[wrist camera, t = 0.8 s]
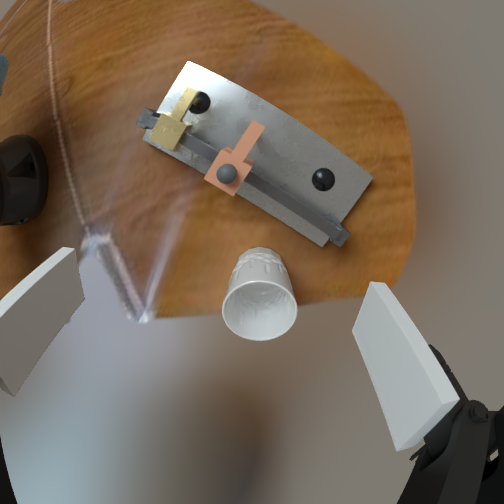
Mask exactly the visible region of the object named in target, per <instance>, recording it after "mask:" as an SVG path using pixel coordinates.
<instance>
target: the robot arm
mask: <svg viewBox="0 0 504 504" xmlns="http://www.w3.org/2000/svg"><path fill="white" fill-rule="evenodd" d="M8 66H9V64H8V60H7V58H6V57H5V56H4V55H2V54H0V95H1V94H2V87H3V84H4V80H5V77H6V74H7V71H8ZM47 188H48V174H47V166H46V161H45V158H44V155H43V152H42V150H41V148H40V146H39V145H38V143H37V142H36V141H35V140H34V139H33V138H32V137H30V136H28V135H25V134H21V135H15V136H11V137H8V138H6V139H5V140H4V141H2V142H1V143H0V226H6V225H20V224H24V223H26V222H28V221H30V220H32V219H34V218H35V217H36V216H37V215H38V214H39V213H40V211H41V209H42V208H43V205H44V203H45V199H46V195H47ZM84 299H85V298H84V294H83V289H82V284H81V279H80V274H79V269H78V263H77V257H76V251H75V249H74V248H67V247H62V248H61V249H60V250H58V251H57V252H56V253H55V254H53V255H52V256H51V257H50V258H48V259H47V260H46V261H45V262H43V263H42V264H41V265H40V266H39V267H37V268H36V269H35V270H34V271H33V272H31V273H30V274H29V275H28V276H27V277H26V278H24V279H23V280H22V281H21V282H20V283H19V284H18V285H17V286H15V287H14V288H13V289H12V290H11V291H10V292H9V293H8V294H7V295H6V296H5V297H4V298H2V299H0V387H1V389H2V390H3V391H5V392H7V393H8V394H10V395H12V396H13V397H15V396H16V394H17V392H18V391H19V389H20V388H21V386H22V384H23V383H24V381H25V380H26V378H27V377H28V375H29V374H30V372H31V371H32V369H33V368H34V366H35V365H36V363H37V362H38V360H39V359H40V357H41V356H42V354H43V353H44V352H45V350H46V349H47V348H48V346H49V345H50V343H51V342H52V341H53V339H54V338H55V337H56V335H57V334H58V333H59V331H60V330H61V329H62V327H63V326H64V325H65V323H66V322H67V321H68V320H69V318H70V317H71V316H72V314H73V313H74V312H75V311H76V309H77V308H78V307H79V306H80V305H81V303H82V302H83V301H84ZM352 333H353V335H354V337H355V340H356V342H357V345H358V347H359V349H360V352H361V355H362V357H363V360H364V362H365V365H366V367H367V369H368V372H369V375H370V377H371V380H372V383H373V385H374V388H375V391H376V393H377V396H378V399H379V402H380V404H381V407H382V410H383V413H384V415H385V418H386V421H387V424H388V427H389V430H390V433H391V436H392V439H393V442H394V445H395V448H396V451H399V450H403V449H407V448H411V447H414V446H415V445H416V444H417V443H418V442H419V441H420V440H422V438H424V441H425V443H426V444H425V445H424V446H423V447H422V448H420V449H419V450H418V451H417V452H416V453H415V454H414V455H412V456H411V458H410V460H411V461H412V460H413V459H414V458H416V457H417V456H418V455H419V456H418V458H417V460H416V461H415V462H416V463H415V466H414V468H413V471H412V473H411V475H410V477H409V480H408V482H407V484H406V486H405V488H404V490H403V493H402V494H401V496H400V498H399V500H398V502H397V504H504V406H503V407H502V408H501V409H500V410H499V411H488V409H487V408H486V407H485V405H484V404H482V403H481V402H479V401H476V400H471V401H469V400H468V398H467V397H466V395H465V393H464V391H463V390H462V388H461V386H460V385H459V383H458V381H457V379H456V378H455V376H454V374H453V373H452V372H451V369H450V368H449V366H448V365H447V364H446V362H445V360H444V358H443V357H442V355H441V354H440V352H438V351H437V350H436V349H435V348H434V347H433V346H432V345H427V343H426V342H425V340H424V338H423V337H422V335H421V334H420V332H419V331H418V329H417V328H416V326H415V325H414V323H413V322H412V320H411V319H410V317H409V316H408V315H407V313H406V312H405V310H404V309H403V307H402V306H401V305H400V303H399V302H398V300H397V299H396V298H395V296H394V295H393V294H392V292H391V291H390V289H389V288H388V287H387V285H386V284H385V283H379V282H370V284H369V287H368V290H367V293H366V295H365V298H364V301H363V304H362V306H361V309H360V312H359V314H358V317H357V319H356V322H355V324H354V327H353V329H352ZM497 449H498V456H497V457H496V458H495V459H494V460H492V461H491V460H490V455H491V454H493V453H494V452H495V451H496V450H497ZM0 504H17V501H16V498H15V496H14V492H13V489H12V486H11V482H10V479H9V475H8V471H7V467H6V463H5V459H4V454H3V449H2V444H1V438H0Z"/></svg>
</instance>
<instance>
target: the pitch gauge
mask: <svg viewBox="0 0 504 504" xmlns="http://www.w3.org/2000/svg"><path fill="white" fill-rule="evenodd" d="M253 120H255V121H256V122H258V123H260V124H261V125H263V126H265V129H264V130H263V132H262V133H261V135H260V136H259V138H258V139H257V141H256V142H255V144H254V145H253V147H252V148H251V150H250V152H249V153H248V155H247V157H248V158H250V159H252V160H253V161H254V163H253V166H252V168H251V170H250V171H249V173H248V174H247V176H246V177H245V179H244V181H243V182H242V184H241V185H240V187H239V188H238V190H237V192H236V193H237V194H238V195H240V196H242V197H243V198H245V199H247V200H248V201H250V202H251V203H253V204H255V205H256V206H258V207H260V208H261V209H263V210H264V211H266V212H268V213H269V214H271V215H272V216H274V217H276V218H277V219H279V220H280V221H282V222H284V223H285V224H287V225H288V226H290V227H291V228H293V229H295V230H296V231H298V232H299V233H301V234H302V235H304V236H305V237H307V238H308V239H310V240H312V241H313V242H315V243H316V244H318V245H319V246H321V247H323V246H324V244H325V243H326V242H327V241H328V239H329V238H330V240H331V241H332V243H334V244H335V245H337V246H338V247H339V248H340V247H341V246H342V245H343V243H344V242H345V241H346V240H347V238H348V237H349V236H350V234H351V233H350V232H349V231H348V230H347V229H346V228H345V226H344V225H343V224H342V223H341V222H342V220H343V219H344V218H345V216H346V215H347V214H348V212H349V211H350V210H351V208H352V207H353V205H354V204H355V203H356V201H357V200H358V198H359V197H360V196H361V194H362V193H363V191H364V190H365V189H366V187H367V186H368V184H369V183H370V182H371V180H372V179H373V177H372V176H371V175H370V174H368V173H367V172H366V171H365V170H364V169H362V168H361V167H360V166H359V165H357V164H356V163H355V162H354V161H352V160H351V159H350V158H349V157H347V156H346V155H345V154H343V153H342V152H341V151H339V150H338V149H337V148H335V147H334V146H333V145H331V144H330V143H329V142H327V141H326V140H325V139H323V138H322V137H320V136H319V135H318V134H316V133H315V132H313V131H312V130H310V129H309V128H307V127H306V126H304V125H303V124H301V123H300V122H298V121H297V120H295V119H294V118H292V117H291V116H289V115H288V114H286V113H285V112H283V111H281V110H280V109H278V108H277V107H275V106H273V105H272V104H270V103H268V102H267V101H265V100H263V99H262V98H260V97H258V96H256V95H255V94H253V93H251V92H249V91H248V90H246V89H244V88H242V87H240V86H238V85H237V84H235V83H233V82H231V81H229V80H227V79H225V78H223V77H221V76H219V75H217V74H215V73H213V72H211V71H209V70H207V69H205V68H203V67H201V66H198V65H196V64H194V63H192V62H190V61H188V62H187V64H186V65H185V67H184V68H183V70H182V71H181V73H180V74H179V76H178V78H177V79H176V81H175V82H174V84H173V85H172V87H171V89H170V90H169V92H168V94H167V95H166V97H165V99H164V100H163V102H162V104H161V106H160V107H159V109H158V110H153V109H148V108H144V109H143V111H142V113H141V115H140V117H139V119H138V121H137V122H136V125H138V126H140V127H141V128H143V129H147V131H146V133H145V135H144V137H143V139H142V140H144V141H146V142H148V143H150V144H151V145H153V146H155V147H157V148H159V149H161V150H162V151H164V152H166V153H168V154H170V155H171V156H173V157H175V158H177V159H178V160H180V161H182V162H184V163H186V164H187V165H189V166H191V167H193V168H194V169H196V170H198V171H199V172H201V173H203V174H205V175H206V174H207V172H208V170H209V169H210V167H211V165H212V164H213V162H214V160H215V159H216V157H217V156H218V154H219V152H220V151H221V149H223V148H225V147H227V146H230V147H232V148H233V149H234V148H235V147H236V145H237V144H238V142H239V140H240V139H241V137H242V136H243V134H244V133H245V131H246V130H247V128H248V127H249V125H250V124H251V122H252V121H253Z"/></svg>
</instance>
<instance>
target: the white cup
mask: <svg viewBox="0 0 504 504" xmlns="http://www.w3.org/2000/svg"><path fill="white" fill-rule="evenodd" d="M297 312H298V308H297V303H296V300H295V296H294V292H293V289H292V285H291V281H290V279H289V275H288V272H287V270H286V267H285V264H284V262H283V260H282V258H281V256H280V255H279V254H277V253H276V252H275V251H273V250H272V249H269V248H264V247H256V248H252V249H248V250H247V251H245V252H244V253H243V254H242V255H240V256H239V258H238V260H237V263H236V265H235V268H234V270H233V272H232V275H231V278H230V281H229V285H228V288H227V292H226V295H225V299H224V302H223V306H222V315H223V319H224V321H225V323H226V325H227V326H228V327H229V329H230V330H231V331H233V332H234V333H235V334H237V335H238V336H240V337H242V338H245V339H248V340H253V341H266V340H271V339H275V338H277V337H279V336H281V335H283V334H284V333H286V332H287V331H288V330H289V329H290V328H291V327H292V326H293V324H294V322H295V320H296V317H297Z"/></svg>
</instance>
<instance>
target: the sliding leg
mask: <svg viewBox="0 0 504 504" xmlns="http://www.w3.org/2000/svg"><path fill="white" fill-rule="evenodd" d="M264 129H265V126H263V125H261V124H260V123H258V122H256V121H255V120H253V121H252V122H251V124H250V125H249V127H248V128H247V130H246V131H245V133H244V134H243V136H242V137H241V139H240V140H239V142H238V144H237V145H236V147H235V148H234V149H233V148H232V147H230V146H227V147H225V148H223V149H221V151H220V152H219V154H218V156H217V157H216V159H215V160H214V162H213V164H212V165H211V167H210V169H209V170H208V172H207V174H206V176H205V177H204V179H205V180H206V181H208V182H210V183H212V184H213V185H215V186H217V187H218V188H220V189H222V190H223V191H225V192H227V193H228V194H230V195H232V196H234V195H235V193H236V192H237V190H238V188H239V187H240V185H241V184H242V182H243V181H244V179H245V177H246V176H247V174H248V173H249V171H250V170H251V168H252V166H253V163H254V161H253V160H252V159H250V158H248V157H247V155H248V153H249V152H250V150H251V148H252V147H253V145H254V144H255V142H256V141H257V139H258V138H259V136H260V135H261V133H262V132H263V130H264Z"/></svg>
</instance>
